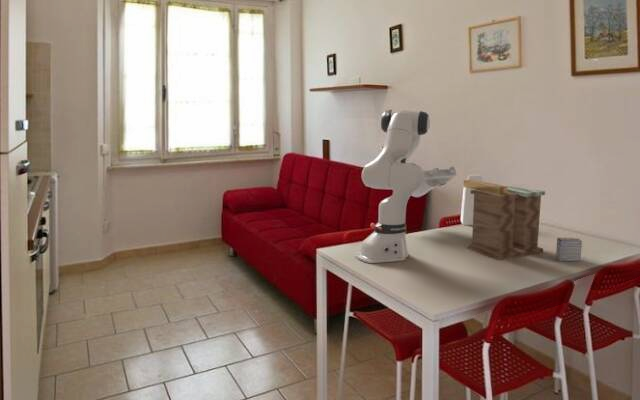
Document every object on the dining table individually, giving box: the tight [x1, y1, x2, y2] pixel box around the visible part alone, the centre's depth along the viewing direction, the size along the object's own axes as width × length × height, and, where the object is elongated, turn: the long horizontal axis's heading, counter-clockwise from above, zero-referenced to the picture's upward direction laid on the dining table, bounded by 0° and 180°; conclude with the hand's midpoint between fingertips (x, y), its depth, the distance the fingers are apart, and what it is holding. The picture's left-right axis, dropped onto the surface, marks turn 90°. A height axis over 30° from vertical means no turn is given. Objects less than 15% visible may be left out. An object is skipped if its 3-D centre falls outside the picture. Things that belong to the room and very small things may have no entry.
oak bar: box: [462, 179, 508, 194], centre depth 202 cm, size 4×22×3 cm, turn 22°
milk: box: [460, 174, 485, 226], centre depth 253 cm, size 12×12×26 cm
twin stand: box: [466, 185, 546, 261], centre depth 202 cm, size 25×18×26 cm
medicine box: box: [555, 237, 583, 262], centre depth 189 cm, size 8×4×9 cm, turn 84°
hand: (445, 168), depth 225 cm, fingers open, 8 cm apart
